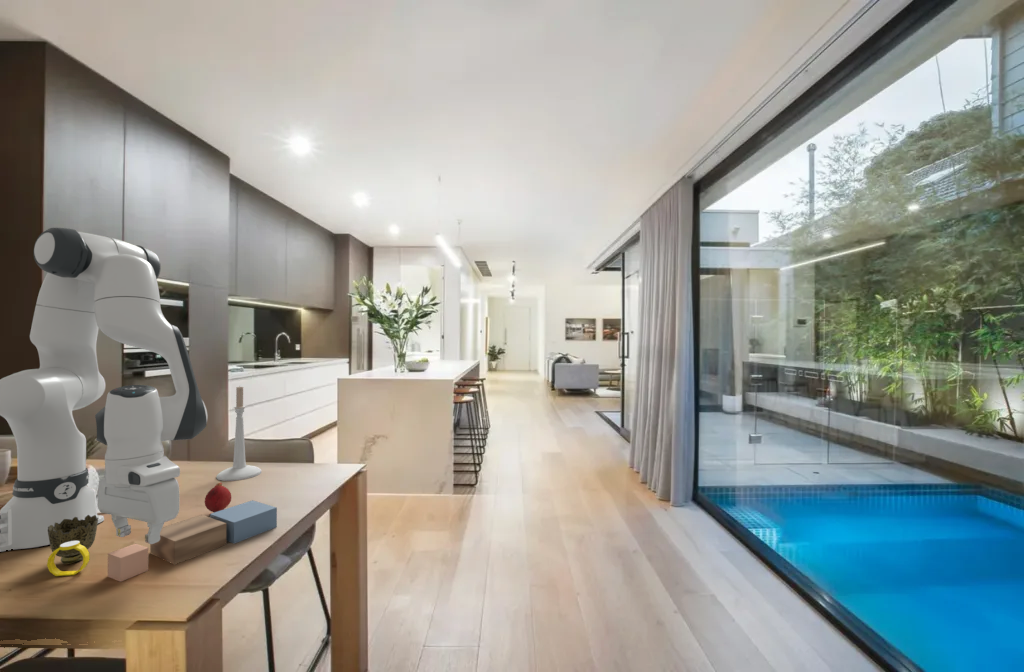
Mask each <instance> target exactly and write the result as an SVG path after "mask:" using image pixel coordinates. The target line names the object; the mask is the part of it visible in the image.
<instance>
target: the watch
mask: <svg viewBox="0 0 1024 672" xmlns="http://www.w3.org/2000/svg"><path fill="white" fill-rule="evenodd" d="M70 549H76V550H78V551H80V553H81V554H82V556H83V559H82V564H81V566H80V568H79V569H77V570H66V571H64V570H60V568H58V567H57V566H56V563H55V559H56V554H57V552H58V551H59V550H70ZM89 562H90V552H89V549H88V550H87V548H86V547H85V546H83V545H81V544H80V541H69V542H65V543H63V544H61V545H60V547H59V548H58V549H56V550H55V551H53V552H51V554H50V555H49V556H48V558H47V562H46V563H47V564H46V566H47V569H48V571H49V573H50V574H52V575H53V576H55V577H65V576H75V575H77V574H78V573H79V572H81V571H82V570H84V569H85V568H86V567H87V565H88V564H89Z"/></svg>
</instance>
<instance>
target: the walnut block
mask: <svg viewBox="0 0 1024 672" xmlns="http://www.w3.org/2000/svg"><path fill="white" fill-rule="evenodd" d="M226 545H227V541H226V523H224V522H221V521H218V520H216V519H213V518H210V516H207V515H203V514H199V515H197V516H196V515H195V516H194V517H190V518H187V519H185V520H181V521H178V522H175V523H171V524H169V525H165V526H163V527H162V529H161V532H160V540H159V541H158V542H156V543H154V544H149V547H150V548H149V549H150V550H149V551H150V552H149V553H150V554H151V555H153V556H155V557H157V558H159V559H162V560H163V559H164V560H163V561H165V560H166V562H168V563H170V562H171V563H170V564H172V563H173V564H172V565H174V564H175V565H177V564H176V563H178V564H180V563H179V562H181V563H183V562H185V560H186V561H188V560H191V559H193V558H195V556H196V557H198V556H200V555H204V554H206V553H208V552H211V551H213V550H216V549H219V548H221V547H223V546H226ZM190 558H191V559H190ZM187 559H188V560H187ZM182 561H183V562H182Z"/></svg>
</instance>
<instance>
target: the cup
mask: <svg viewBox="0 0 1024 672" xmlns="http://www.w3.org/2000/svg"><path fill="white" fill-rule="evenodd" d="M98 518H99V517H98ZM98 518H97V517H96V515H94V516H92V517H91V516H90V515H87V516H86V517H85V520H83V519H82V520H78V517H74V518H73V519H72V520H71V519H64V520H63V521H62V522H61V523H60V524H58V523H55V524H54V526H53V525H50V526H48V536H49V542H50V544H49V546H50V550H51V553H53V551H55V550H56V549H58V548H59V547H60V545H61V544H63V543H65V542H69V541H80V544H81V545H83V546H85V547H86V548H87V550H88V551H89V549H90V548H91V547H92V546H93V544H94V543H95V539H96V535H97V530H98V524H99V523H98ZM55 557H59V558H60V562H61V564H63V565H69V564H71V565H72V564H74V563H77V562H79V561H81V560H82V561H83V556H82V554H81V553H80V551H78V550H76V549H70V550H59V551H58V552H57V554H56V555H55Z"/></svg>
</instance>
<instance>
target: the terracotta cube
mask: <svg viewBox="0 0 1024 672" xmlns="http://www.w3.org/2000/svg"><path fill="white" fill-rule="evenodd" d="M148 571H149V547H148V546H145V545H142V544H138V543H134V544H133V543H132V544H130V545H128V546H124V547H122V548H118V549H116V550H114V551H110V552H108V553H107V577H108V578H111V579H112V580H116V581H117V582H124V581H125V580H129V579H131V578H133V577H135V576H138V575H141V574H143V573H145V572H148Z"/></svg>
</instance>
